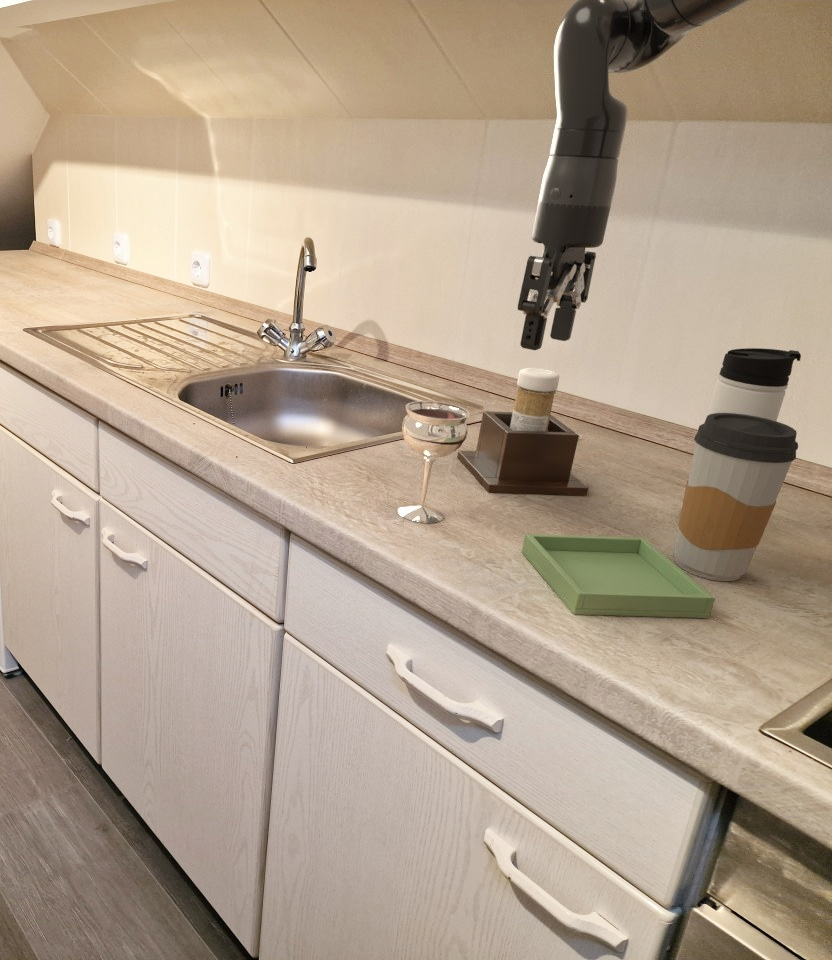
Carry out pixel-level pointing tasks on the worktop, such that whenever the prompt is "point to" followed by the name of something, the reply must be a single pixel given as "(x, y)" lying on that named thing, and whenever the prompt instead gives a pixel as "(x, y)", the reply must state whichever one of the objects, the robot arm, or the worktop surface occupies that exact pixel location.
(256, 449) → the worktop surface
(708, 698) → the worktop surface
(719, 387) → the travel mug
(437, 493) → the worktop surface
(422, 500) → the wineglass
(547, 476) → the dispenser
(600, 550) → the tray
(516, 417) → the sprinkles bottle
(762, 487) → the coffee cup
